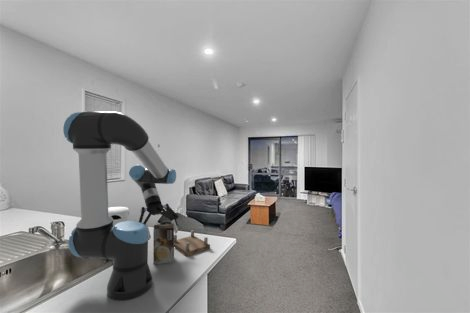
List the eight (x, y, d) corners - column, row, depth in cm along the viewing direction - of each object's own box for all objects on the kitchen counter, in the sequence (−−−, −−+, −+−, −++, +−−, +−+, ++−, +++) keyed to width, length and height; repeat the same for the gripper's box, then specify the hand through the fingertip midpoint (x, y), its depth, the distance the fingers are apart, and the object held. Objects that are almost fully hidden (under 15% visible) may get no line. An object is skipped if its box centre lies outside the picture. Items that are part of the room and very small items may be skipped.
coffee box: (174, 256, 107) (174, 223, 107) (174, 262, 101) (174, 227, 100) (154, 258, 104) (154, 224, 104) (152, 264, 98) (153, 229, 98)
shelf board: (186, 256, 107) (186, 245, 107) (170, 244, 120) (171, 234, 120) (209, 248, 116) (210, 238, 116) (193, 238, 129) (193, 229, 129)
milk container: (131, 234, 134) (131, 205, 134) (129, 245, 118) (129, 212, 118) (98, 238, 127) (98, 207, 127) (91, 250, 111) (92, 215, 111)
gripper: (171, 200, 126) (184, 233, 115) (125, 206, 110) (134, 245, 99) (176, 192, 122) (189, 225, 111) (128, 197, 106) (138, 237, 95)
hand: (163, 235), depth 105 cm, fingers open, 13 cm apart
